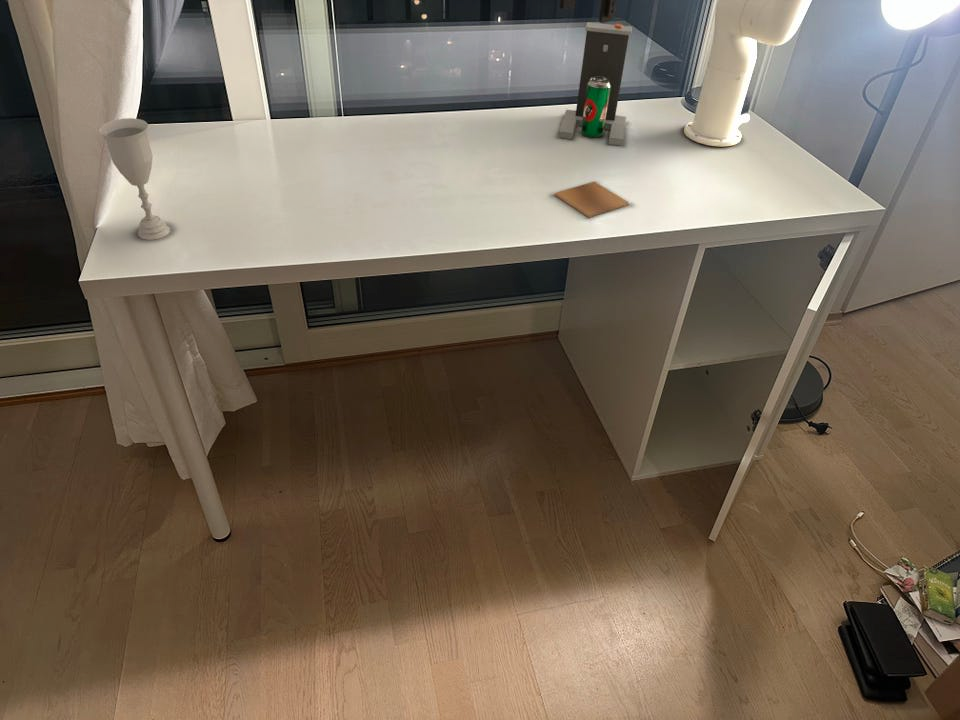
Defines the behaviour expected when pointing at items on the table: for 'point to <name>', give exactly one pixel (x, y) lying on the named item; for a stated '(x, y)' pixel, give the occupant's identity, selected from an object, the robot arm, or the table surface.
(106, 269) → the table surface
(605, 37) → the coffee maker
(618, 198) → the mat
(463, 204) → the table surface
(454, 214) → the table surface
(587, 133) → the soda can
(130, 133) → the chalice
